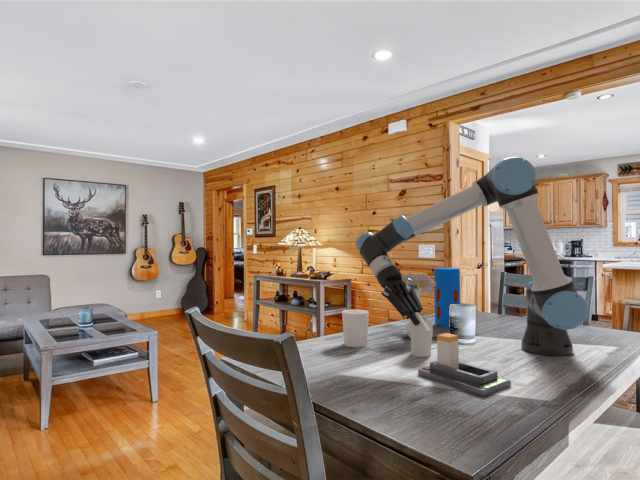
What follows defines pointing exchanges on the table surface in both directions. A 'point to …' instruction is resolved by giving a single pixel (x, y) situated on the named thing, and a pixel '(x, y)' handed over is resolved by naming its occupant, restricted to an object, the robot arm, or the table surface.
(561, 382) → the table surface
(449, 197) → the robot arm
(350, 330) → the candle holder
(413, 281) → the flower vase
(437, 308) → the leaf-print blue block
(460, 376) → the dark gray tray
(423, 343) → the mug
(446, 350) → the toggle
